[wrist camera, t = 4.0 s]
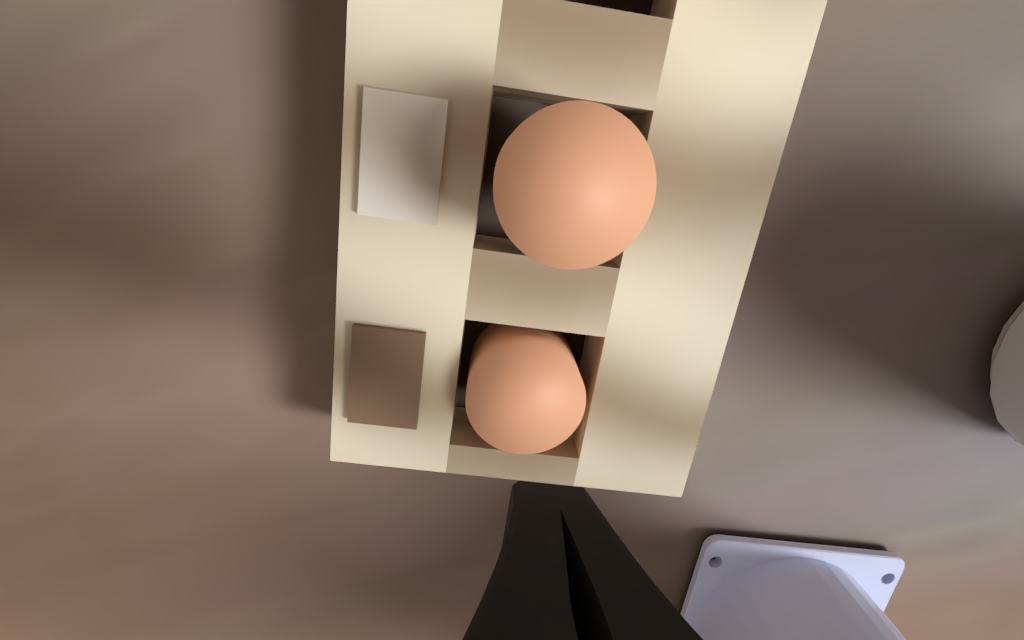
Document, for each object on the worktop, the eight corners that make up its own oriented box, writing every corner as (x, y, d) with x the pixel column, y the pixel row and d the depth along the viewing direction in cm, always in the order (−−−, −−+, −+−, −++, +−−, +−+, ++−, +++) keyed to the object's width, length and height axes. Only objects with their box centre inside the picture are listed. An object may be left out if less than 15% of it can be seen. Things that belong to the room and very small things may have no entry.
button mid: (609, 254, 14) (636, 279, 11) (485, 237, 14) (483, 258, 11) (637, 121, 13) (674, 114, 10) (503, 100, 13) (504, 87, 10)
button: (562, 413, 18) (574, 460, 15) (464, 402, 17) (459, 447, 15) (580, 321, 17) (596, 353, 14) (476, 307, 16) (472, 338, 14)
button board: (658, 454, 18) (683, 501, 16) (351, 420, 18) (328, 464, 15) (822, -156, 13) (899, -229, 10) (385, -245, 12) (357, -347, 10)
